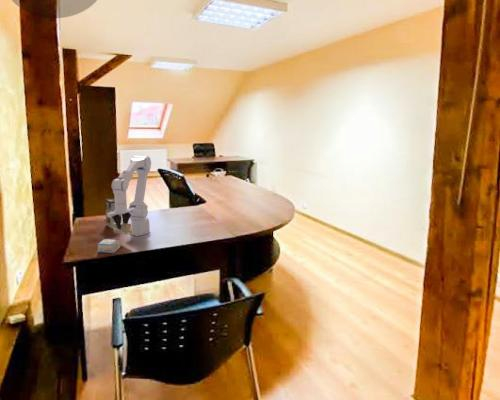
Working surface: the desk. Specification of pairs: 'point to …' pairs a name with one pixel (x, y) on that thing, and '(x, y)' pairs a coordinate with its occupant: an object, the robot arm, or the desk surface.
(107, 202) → the coffee box
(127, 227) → the beige block
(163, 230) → the desk surface
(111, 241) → the medicine box
